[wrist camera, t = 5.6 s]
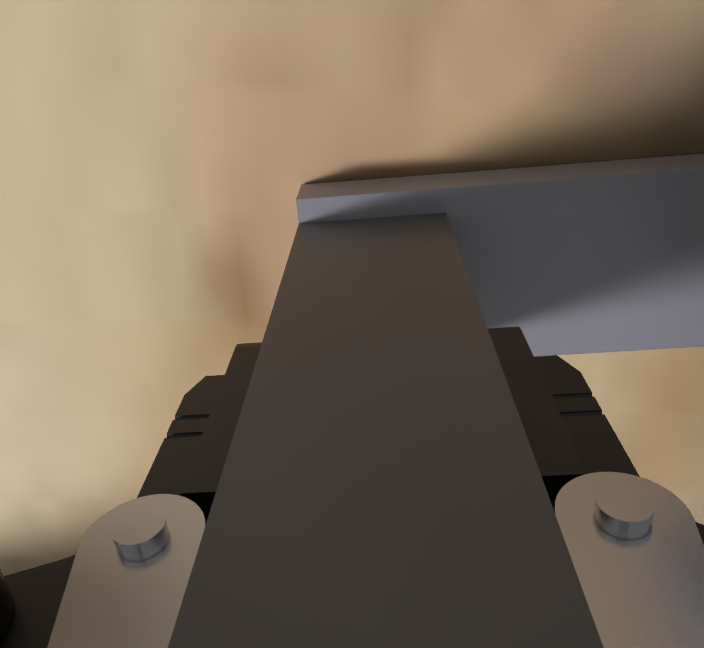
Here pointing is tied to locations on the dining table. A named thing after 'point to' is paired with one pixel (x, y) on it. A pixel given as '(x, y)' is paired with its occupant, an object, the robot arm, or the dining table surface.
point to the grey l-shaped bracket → (432, 405)
